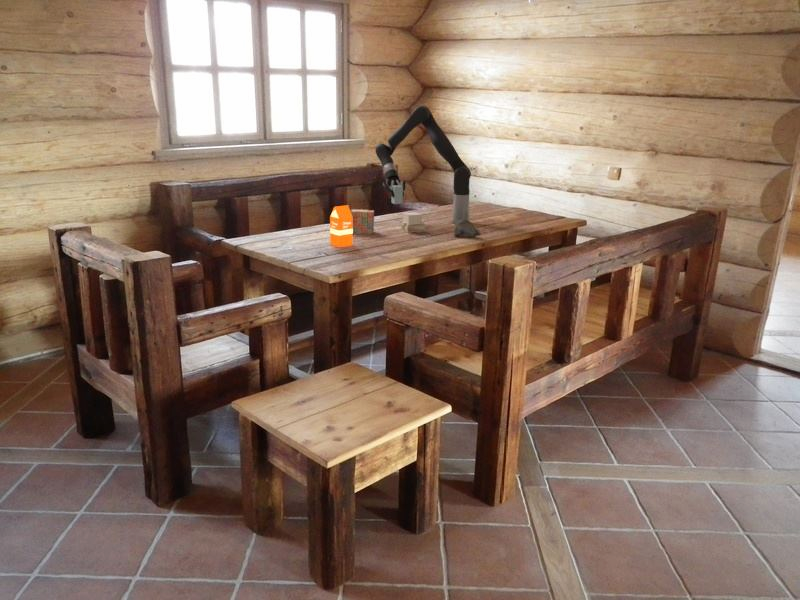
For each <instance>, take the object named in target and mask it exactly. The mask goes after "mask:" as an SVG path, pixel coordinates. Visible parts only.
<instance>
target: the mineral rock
mask: <svg viewBox="0 0 800 600" xmlns="http://www.w3.org/2000/svg"><path fill="white" fill-rule="evenodd" d="M481 235H482V234H481V232H480V230H479V229H478V228H476V227H475V225H474V223H473V222H472V221H470V220H469V221H468V220H467V219H463V220H457V223H456V224H455V226H454V230H453V236H454V237H456V236H457V237H458V238H459V237H460V238H472V237H477V236H479V237H480V236H481Z"/></svg>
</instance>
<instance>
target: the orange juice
mask: <svg viewBox="0 0 800 600" xmlns="http://www.w3.org/2000/svg"><path fill="white" fill-rule="evenodd" d="M349 206H350V205H349V204H347V205H339V206H338V205H337V206H334V207H333V209H332V212H331V214H330V216H329V226H330V227H329V234H330V236H329V237H330V238H329V241H330V245H331V246H334V247H337V248H343V247H344V248H345V247H349V246H353V245H354V243H353V241H354V240H353V238H354V235H353V234H354V233H353V217H352V214H351V209H350V207H349Z"/></svg>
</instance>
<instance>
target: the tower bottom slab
mask: <svg viewBox="0 0 800 600" xmlns="http://www.w3.org/2000/svg"><path fill="white" fill-rule="evenodd" d="M425 224H426V223H424V222H422V223H420V224H407V223H405V222H403V220H402V221H400V230H401V229H402V230H401V231H403V230H404V231H403V232H405V231H406V232H405V233H407V232H408V233H407V234H411V233H410V232H417V233H425V226H426V225H425Z"/></svg>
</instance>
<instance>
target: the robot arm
mask: <svg viewBox="0 0 800 600" xmlns="http://www.w3.org/2000/svg"><path fill="white" fill-rule="evenodd" d="M420 124H421V125H422V126H423V127H424V128H425V130H426V131H427V134H428V135H429V136H428V137H429V139H430V142H431V143H432V145H433V147H434V148H435V150H436V151H437V153H438V154H439V156H440V157H441V158H442V159H444V161H446V162H447V163H448V165H449V166H450V168H451V169H452V170H453V200H452V201H453V204H452V224H455V225H456V223H457V220H463V219H467V220H468V221H470V179H471V176H472V174H471V173H472V172H471V169H470V168H469V167H468V166H467V164H466V163H465V162H464V161H463V160H462V159H461V157H460V156H459V154H458V152H457V150H456V149H455V147H454V146H453V143H452V142H451V141H450V139H449V137H448V136H447V135H446V133H445V132H444V131H443V129H442V128H441V127H440V126H439V124H438V123H437V120H436V118H434V115H433V114H432V112H431V110H430V109H429V107H427V106H426V105H419V106H416V107H415V108H414V110H413V111H412V112H411V114H410V115H409V116H408V118H407V119H406V120H405V121H404V122H403V124H401V125H400V126H399V127H398V128H397V129H396V130H395V131H394V132H393V133H391V135H390V136H389V137H388V138H387V142H388V145H386V144H385V143H382V142H379V143H377V145H376V146H375V154H376V156H377V158H378V160H379V161H380V163H381V167H382V170H383V175H384V178H385V180H386V181H383V182H382V187H384V190H385V191H386V192H387V193H390V196H392V197H394V196H395V195H394V192H393V188H392V186H393V185H401V186H403V197H404V196H405V191H406V188H407V186H406V180H401V179H400V177H399V173H398V169H397V168H396V165H395V163H394V159H393V158H392V155H393V154H394V152H395V150H397V147H398V146H399V145H400V144H401V143H402V142H403V141H404V140H405V139H406V138H407V137H408V136H409V134H410V133H411V132H412V131H413V130H414V129H415V128H416V127H417V126H419V125H420Z"/></svg>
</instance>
